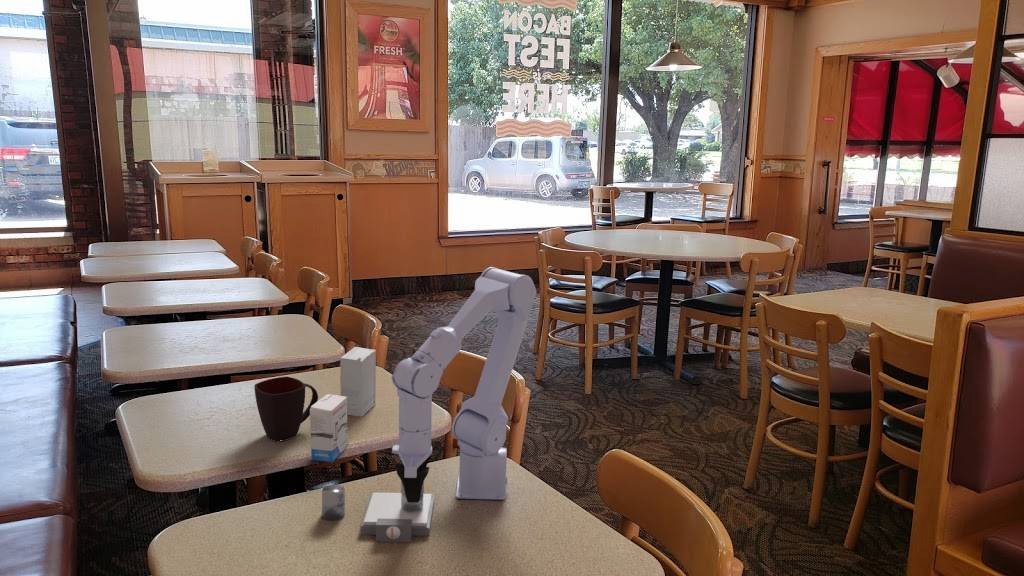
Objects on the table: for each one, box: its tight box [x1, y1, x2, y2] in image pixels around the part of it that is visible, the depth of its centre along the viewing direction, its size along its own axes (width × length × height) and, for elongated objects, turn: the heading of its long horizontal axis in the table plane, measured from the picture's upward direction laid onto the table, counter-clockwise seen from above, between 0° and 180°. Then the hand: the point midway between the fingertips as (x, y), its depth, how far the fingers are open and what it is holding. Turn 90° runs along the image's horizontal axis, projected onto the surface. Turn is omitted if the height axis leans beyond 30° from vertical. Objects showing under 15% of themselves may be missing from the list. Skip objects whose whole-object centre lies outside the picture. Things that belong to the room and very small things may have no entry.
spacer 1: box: [321, 484, 346, 522], centre depth 134 cm, size 4×4×5 cm
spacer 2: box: [400, 480, 425, 511], centre depth 133 cm, size 4×4×5 cm
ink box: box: [309, 393, 349, 463], centre depth 157 cm, size 9×5×12 cm, turn 168°
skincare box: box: [339, 346, 377, 418], centre depth 179 cm, size 8×6×15 cm
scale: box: [360, 491, 435, 543], centre depth 133 cm, size 12×13×3 cm
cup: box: [253, 376, 319, 442], centre depth 165 cm, size 10×14×12 cm
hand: (414, 494), depth 133 cm, fingers closed on spacer 2, 4 cm apart
